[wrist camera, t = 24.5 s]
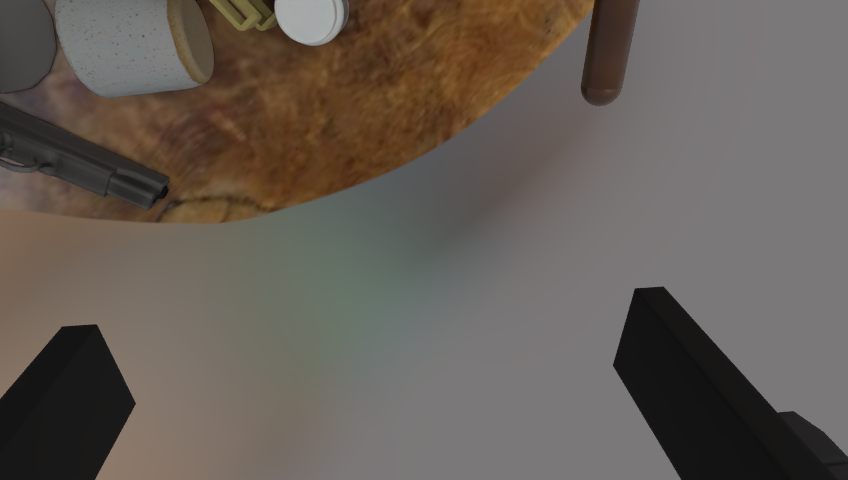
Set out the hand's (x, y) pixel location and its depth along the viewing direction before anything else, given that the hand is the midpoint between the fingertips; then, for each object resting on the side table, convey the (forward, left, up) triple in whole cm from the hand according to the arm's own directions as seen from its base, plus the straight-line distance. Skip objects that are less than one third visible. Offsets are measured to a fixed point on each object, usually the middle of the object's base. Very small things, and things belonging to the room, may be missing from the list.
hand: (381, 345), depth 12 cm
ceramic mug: (-14, -13, -34) cm, 39 cm away
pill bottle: (-8, -1, -34) cm, 35 cm away
